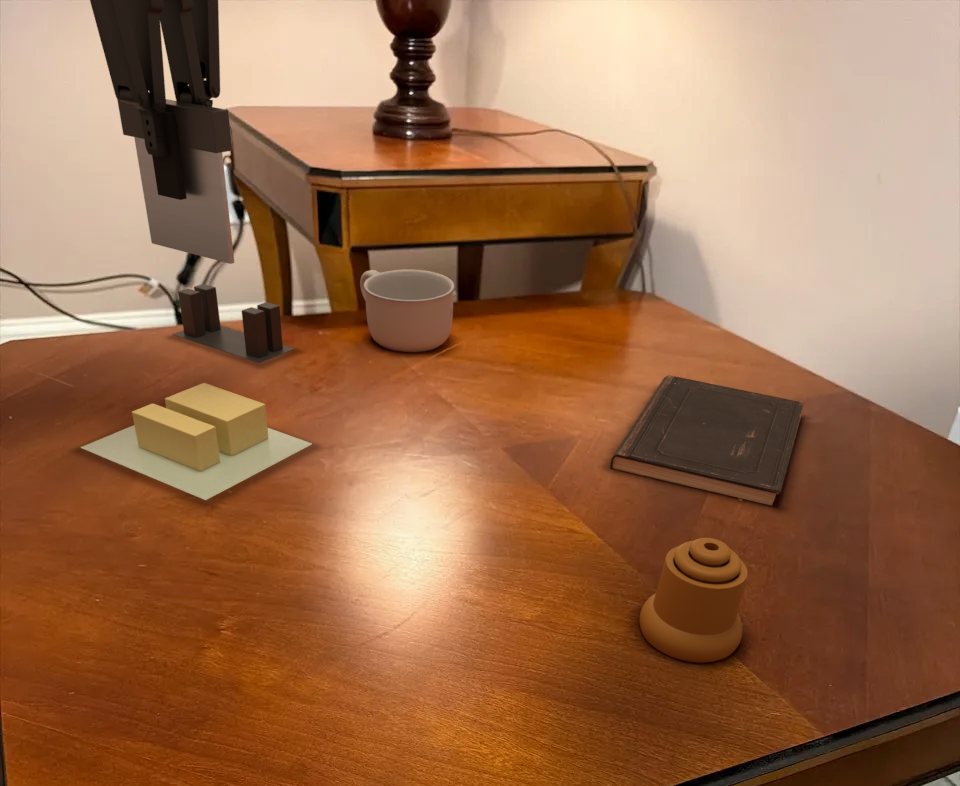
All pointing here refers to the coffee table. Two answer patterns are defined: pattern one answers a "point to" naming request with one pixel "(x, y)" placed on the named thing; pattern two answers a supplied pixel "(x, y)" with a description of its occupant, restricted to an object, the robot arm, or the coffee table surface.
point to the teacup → (408, 308)
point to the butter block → (224, 415)
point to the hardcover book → (713, 439)
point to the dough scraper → (189, 181)
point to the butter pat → (176, 437)
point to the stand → (205, 328)
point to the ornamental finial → (696, 603)
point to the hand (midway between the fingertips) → (183, 193)
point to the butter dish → (192, 481)
